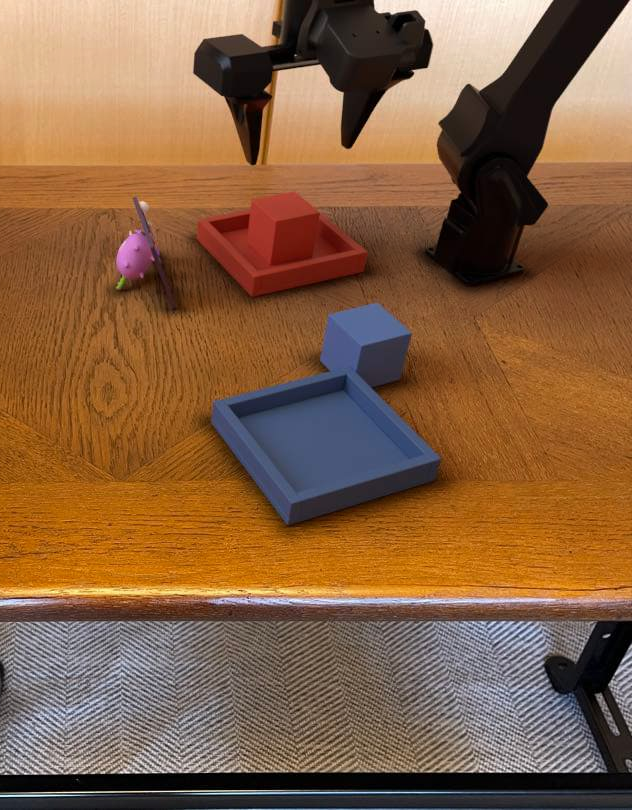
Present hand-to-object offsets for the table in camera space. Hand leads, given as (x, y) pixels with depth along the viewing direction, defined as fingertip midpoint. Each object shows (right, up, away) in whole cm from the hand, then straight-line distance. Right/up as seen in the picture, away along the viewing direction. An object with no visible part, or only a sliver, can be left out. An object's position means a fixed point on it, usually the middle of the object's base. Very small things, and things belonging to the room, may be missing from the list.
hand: (299, 155), depth 79 cm
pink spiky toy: (-13, -11, +4) cm, 18 cm away
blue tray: (-2, -25, -13) cm, 28 cm away
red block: (0, -7, +8) cm, 10 cm away
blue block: (+3, -19, -6) cm, 20 cm away
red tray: (0, -7, +8) cm, 11 cm away
